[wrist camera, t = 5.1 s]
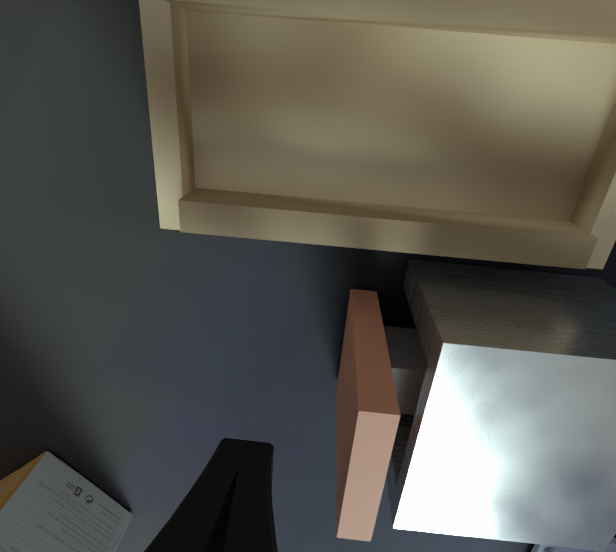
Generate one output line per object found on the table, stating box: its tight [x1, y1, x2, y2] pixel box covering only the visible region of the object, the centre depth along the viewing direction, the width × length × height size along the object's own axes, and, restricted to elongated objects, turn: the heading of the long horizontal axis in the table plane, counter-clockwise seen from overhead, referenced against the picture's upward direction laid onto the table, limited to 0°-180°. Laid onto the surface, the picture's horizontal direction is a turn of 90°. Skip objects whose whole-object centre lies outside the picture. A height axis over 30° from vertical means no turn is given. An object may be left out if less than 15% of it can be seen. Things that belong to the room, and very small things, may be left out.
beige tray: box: [139, 0, 616, 269], centre depth 12 cm, size 7×14×2 cm, turn 86°
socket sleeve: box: [386, 260, 616, 551], centre depth 14 cm, size 8×7×5 cm
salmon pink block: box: [337, 289, 428, 541], centre depth 13 cm, size 5×8×6 cm, turn 86°
